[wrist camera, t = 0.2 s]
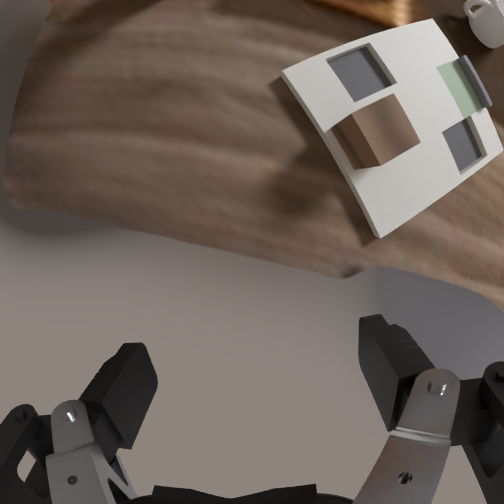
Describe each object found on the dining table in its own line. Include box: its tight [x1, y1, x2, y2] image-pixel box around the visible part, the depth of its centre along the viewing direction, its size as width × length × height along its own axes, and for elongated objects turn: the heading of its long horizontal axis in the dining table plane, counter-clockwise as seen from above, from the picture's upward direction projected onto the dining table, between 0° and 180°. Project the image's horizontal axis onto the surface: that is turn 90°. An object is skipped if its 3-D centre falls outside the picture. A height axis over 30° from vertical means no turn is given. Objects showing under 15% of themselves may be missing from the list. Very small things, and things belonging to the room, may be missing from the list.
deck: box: [281, 19, 503, 239], centre depth 33 cm, size 30×25×4 cm
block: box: [330, 93, 421, 170], centre depth 30 cm, size 6×6×8 cm
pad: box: [436, 60, 482, 119], centre depth 33 cm, size 7×9×2 cm
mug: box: [463, 0, 504, 48], centre depth 25 cm, size 12×8×10 cm
